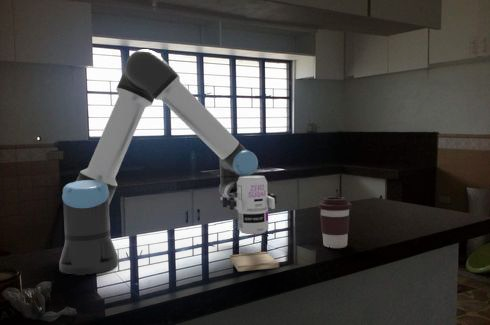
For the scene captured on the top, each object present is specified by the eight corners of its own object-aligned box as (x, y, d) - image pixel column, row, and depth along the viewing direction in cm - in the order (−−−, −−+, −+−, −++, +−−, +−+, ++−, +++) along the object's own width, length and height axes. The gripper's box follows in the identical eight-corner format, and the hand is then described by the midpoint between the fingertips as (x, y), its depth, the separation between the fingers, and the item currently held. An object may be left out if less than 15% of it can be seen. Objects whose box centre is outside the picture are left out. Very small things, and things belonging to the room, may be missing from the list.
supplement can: (250, 226, 120) (249, 174, 119) (274, 230, 114) (272, 175, 114) (232, 232, 113) (230, 177, 112) (256, 236, 108) (254, 178, 107)
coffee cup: (336, 240, 137) (335, 195, 137) (358, 246, 129) (357, 198, 128) (312, 244, 132) (311, 198, 132) (334, 251, 124) (333, 201, 123)
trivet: (238, 271, 108) (238, 266, 108) (230, 259, 118) (230, 255, 118) (279, 267, 110) (279, 262, 110) (267, 256, 121) (267, 251, 121)
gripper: (270, 203, 133) (295, 216, 111) (205, 208, 129) (218, 222, 107) (270, 180, 133) (294, 188, 111) (204, 184, 128) (216, 193, 106)
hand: (257, 204), depth 109 cm, fingers closed on supplement can, 8 cm apart
